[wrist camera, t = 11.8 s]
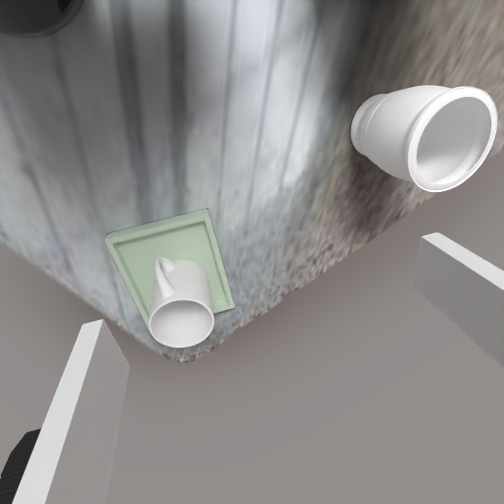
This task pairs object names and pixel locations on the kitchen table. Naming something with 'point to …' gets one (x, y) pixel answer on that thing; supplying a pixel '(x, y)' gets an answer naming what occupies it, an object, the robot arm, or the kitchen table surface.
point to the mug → (180, 303)
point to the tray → (169, 256)
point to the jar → (427, 133)
